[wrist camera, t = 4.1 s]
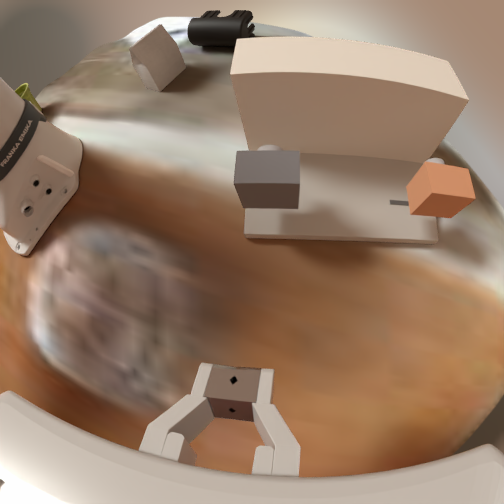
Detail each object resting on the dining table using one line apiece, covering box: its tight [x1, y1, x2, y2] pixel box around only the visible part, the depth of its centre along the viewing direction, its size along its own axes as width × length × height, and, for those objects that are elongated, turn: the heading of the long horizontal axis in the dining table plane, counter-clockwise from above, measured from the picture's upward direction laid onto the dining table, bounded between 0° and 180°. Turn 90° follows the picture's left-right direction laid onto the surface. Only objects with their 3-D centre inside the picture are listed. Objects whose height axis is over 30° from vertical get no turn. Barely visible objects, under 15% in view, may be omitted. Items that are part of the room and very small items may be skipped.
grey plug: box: [234, 145, 300, 209], centre depth 24 cm, size 4×5×5 cm
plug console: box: [230, 37, 469, 244], centre depth 25 cm, size 16×22×14 cm
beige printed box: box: [129, 24, 186, 92], centre depth 35 cm, size 4×7×10 cm, turn 146°
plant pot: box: [14, 83, 42, 111], centre depth 41 cm, size 9×9×9 cm
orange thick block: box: [406, 158, 476, 218], centre depth 22 cm, size 4×5×5 cm
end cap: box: [188, 10, 255, 47], centre depth 37 cm, size 10×7×7 cm
